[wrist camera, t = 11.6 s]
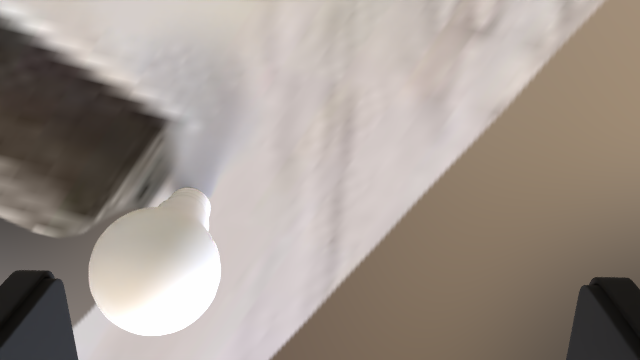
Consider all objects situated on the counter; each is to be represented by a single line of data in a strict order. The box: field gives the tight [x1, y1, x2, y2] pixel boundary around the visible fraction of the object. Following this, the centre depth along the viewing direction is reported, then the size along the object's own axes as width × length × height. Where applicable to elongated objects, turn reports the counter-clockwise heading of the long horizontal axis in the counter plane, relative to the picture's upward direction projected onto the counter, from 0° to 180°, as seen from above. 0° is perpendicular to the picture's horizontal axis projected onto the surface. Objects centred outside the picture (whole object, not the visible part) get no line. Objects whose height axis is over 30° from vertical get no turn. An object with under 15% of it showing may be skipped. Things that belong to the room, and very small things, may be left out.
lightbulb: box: [89, 188, 221, 336], centre depth 31 cm, size 6×6×11 cm
